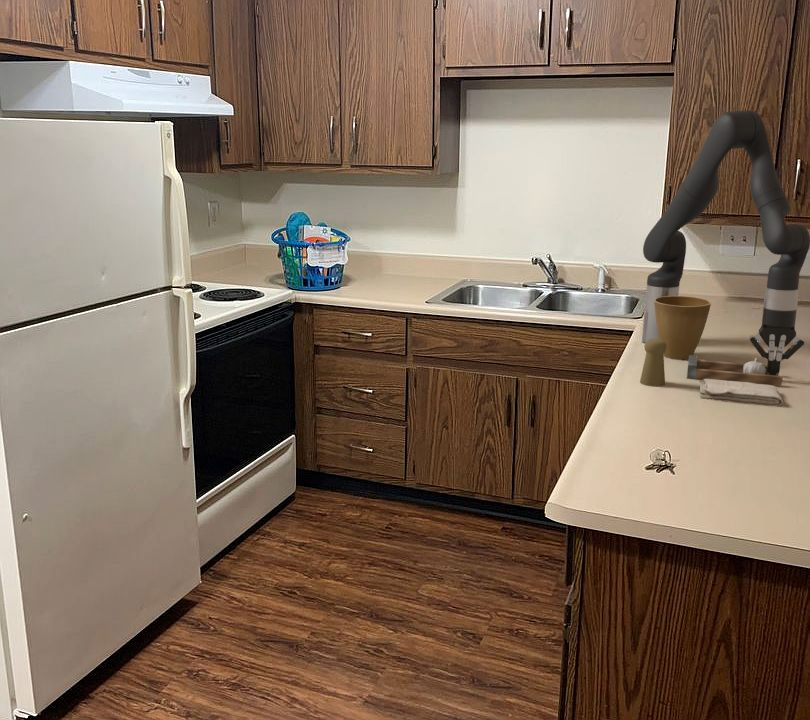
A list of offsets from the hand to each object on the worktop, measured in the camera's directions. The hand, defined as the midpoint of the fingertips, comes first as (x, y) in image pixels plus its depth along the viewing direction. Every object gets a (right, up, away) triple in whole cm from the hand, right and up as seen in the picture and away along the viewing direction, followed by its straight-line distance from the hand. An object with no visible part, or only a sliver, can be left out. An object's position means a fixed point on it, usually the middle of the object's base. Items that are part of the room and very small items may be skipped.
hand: (772, 374), depth 206 cm
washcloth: (-14, -5, -12) cm, 19 cm away
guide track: (-9, -1, +3) cm, 9 cm away
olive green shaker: (-31, -2, -2) cm, 31 cm away
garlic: (-4, -1, +2) cm, 5 cm away
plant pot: (-16, +4, +23) cm, 29 cm away
